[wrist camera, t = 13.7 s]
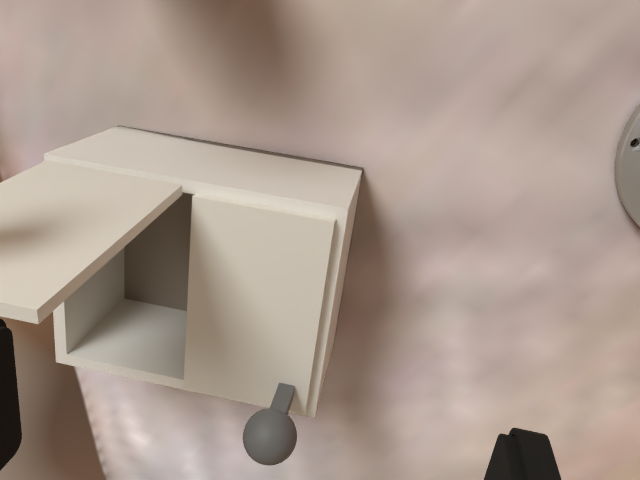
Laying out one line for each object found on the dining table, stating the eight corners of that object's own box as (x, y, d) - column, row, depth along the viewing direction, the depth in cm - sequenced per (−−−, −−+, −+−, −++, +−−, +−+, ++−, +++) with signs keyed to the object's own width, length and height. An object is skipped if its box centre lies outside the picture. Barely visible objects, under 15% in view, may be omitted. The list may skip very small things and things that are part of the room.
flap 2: (337, 219, 31) (319, 265, 26) (308, 408, 37) (287, 482, 31) (196, 193, 32) (147, 232, 26) (186, 382, 37) (144, 449, 32)
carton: (362, 167, 39) (348, 208, 31) (333, 344, 45) (314, 418, 37) (118, 125, 41) (43, 153, 33) (120, 300, 47) (56, 362, 39)
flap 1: (182, 194, 32) (184, 80, 29) (38, 324, 20) (18, 153, 17) (47, 170, 33) (36, 56, 30) (-168, 280, 21) (-218, 110, 18)
